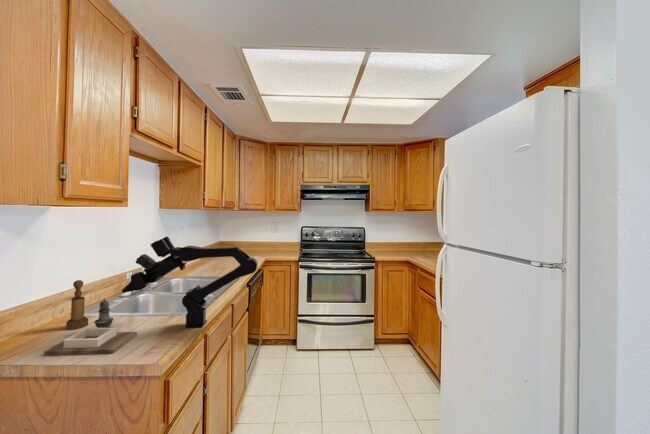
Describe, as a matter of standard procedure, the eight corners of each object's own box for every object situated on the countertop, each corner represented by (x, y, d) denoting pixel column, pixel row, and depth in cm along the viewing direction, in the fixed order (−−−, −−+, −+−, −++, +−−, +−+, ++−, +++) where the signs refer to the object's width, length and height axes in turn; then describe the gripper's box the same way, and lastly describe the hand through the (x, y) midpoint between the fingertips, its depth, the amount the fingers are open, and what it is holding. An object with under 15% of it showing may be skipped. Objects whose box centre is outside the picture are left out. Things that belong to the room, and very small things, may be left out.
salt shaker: (117, 327, 112) (117, 296, 112) (104, 333, 106) (104, 300, 106) (103, 326, 112) (104, 295, 112) (89, 332, 106) (90, 300, 106)
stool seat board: (137, 335, 105) (137, 325, 105) (113, 353, 91) (113, 341, 91) (77, 336, 103) (78, 326, 103) (44, 355, 89) (44, 343, 89)
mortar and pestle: (84, 328, 110) (85, 281, 110) (62, 330, 107) (63, 282, 107) (90, 322, 116) (91, 278, 116) (70, 324, 114) (71, 279, 114)
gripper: (162, 247, 122) (128, 267, 120) (143, 252, 104) (102, 276, 101) (177, 268, 123) (143, 289, 121) (160, 277, 105) (120, 302, 102)
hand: (128, 288), depth 111 cm, fingers open, 9 cm apart
